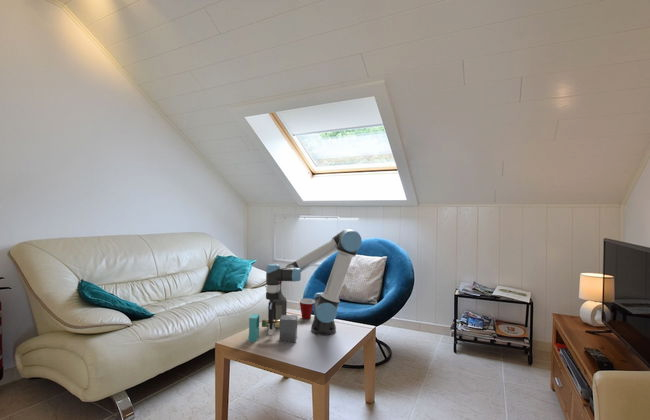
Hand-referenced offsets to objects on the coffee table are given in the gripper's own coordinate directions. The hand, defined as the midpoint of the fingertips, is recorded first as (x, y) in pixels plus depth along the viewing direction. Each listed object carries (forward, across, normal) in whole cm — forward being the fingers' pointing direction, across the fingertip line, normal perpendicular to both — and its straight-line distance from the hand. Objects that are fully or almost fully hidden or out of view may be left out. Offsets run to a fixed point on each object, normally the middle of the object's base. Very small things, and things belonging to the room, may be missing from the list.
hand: (271, 332), depth 194 cm
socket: (+4, 0, -10) cm, 11 cm away
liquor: (+4, -23, 0) cm, 23 cm away
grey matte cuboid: (+4, 0, +9) cm, 10 cm away
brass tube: (-3, 0, +3) cm, 4 cm away
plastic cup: (+4, -40, +17) cm, 44 cm away
